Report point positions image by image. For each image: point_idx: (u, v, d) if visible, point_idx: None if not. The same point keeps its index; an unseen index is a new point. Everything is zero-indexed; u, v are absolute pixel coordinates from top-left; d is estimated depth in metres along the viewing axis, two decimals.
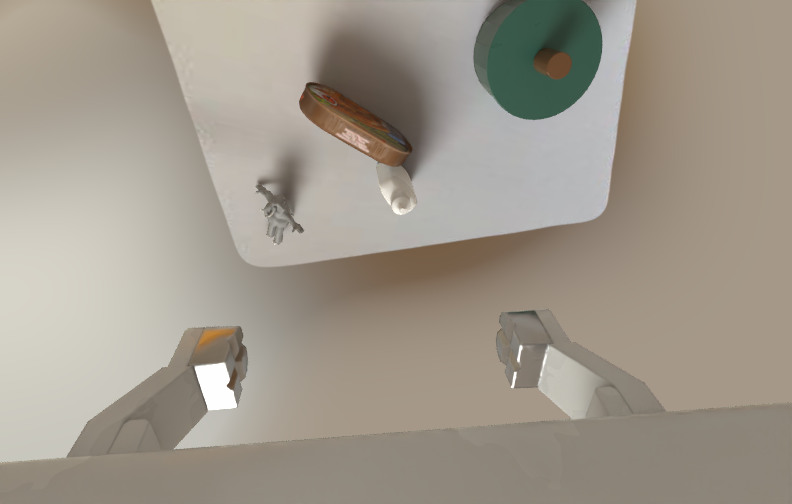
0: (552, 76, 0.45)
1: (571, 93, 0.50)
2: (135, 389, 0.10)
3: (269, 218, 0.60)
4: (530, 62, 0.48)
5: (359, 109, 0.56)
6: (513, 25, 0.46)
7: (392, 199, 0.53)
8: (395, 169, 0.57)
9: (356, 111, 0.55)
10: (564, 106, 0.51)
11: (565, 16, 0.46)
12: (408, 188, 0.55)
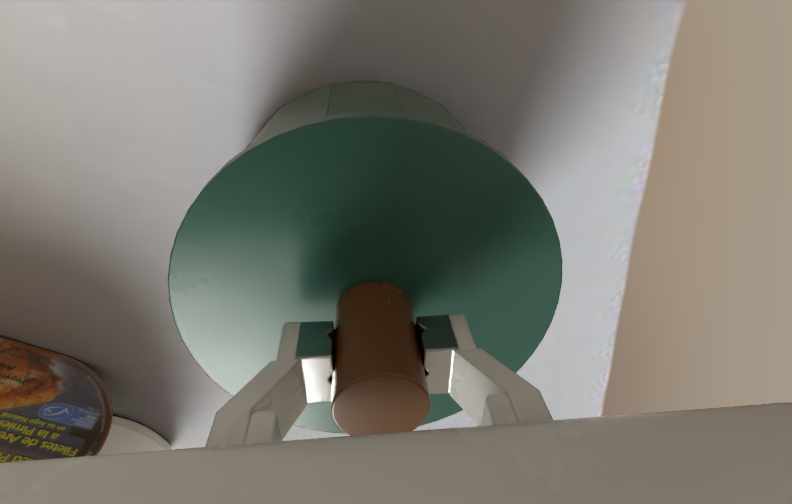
0: None
1: None
2: (252, 381, 0.11)
3: None
4: (326, 319, 0.15)
5: None
6: (231, 226, 0.12)
7: None
8: None
9: None
10: None
11: (421, 192, 0.12)
12: None
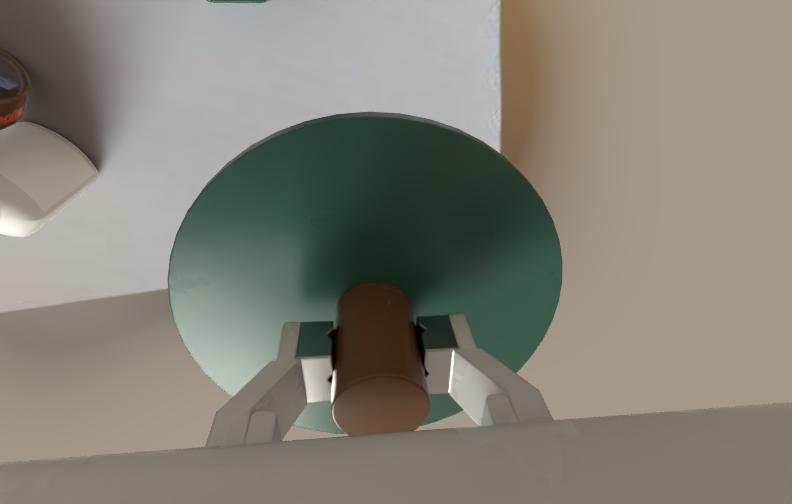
0: None
1: None
2: (252, 382, 0.11)
3: None
4: (326, 319, 0.14)
5: None
6: (231, 227, 0.12)
7: None
8: (1, 143, 0.26)
9: None
10: None
11: (421, 193, 0.12)
12: None
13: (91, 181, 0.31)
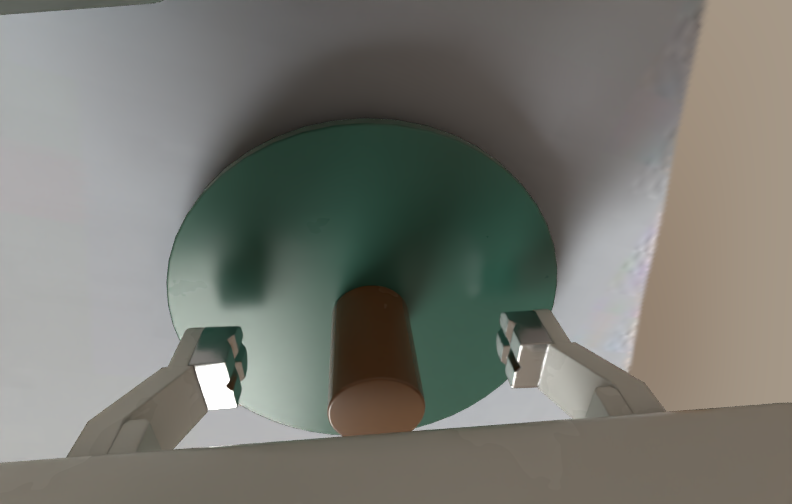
0: None
1: (471, 380, 0.17)
2: (135, 389, 0.10)
3: None
4: (323, 322, 0.15)
5: None
6: (229, 231, 0.13)
7: None
8: None
9: None
10: (455, 406, 0.18)
11: (417, 198, 0.13)
12: None
13: None
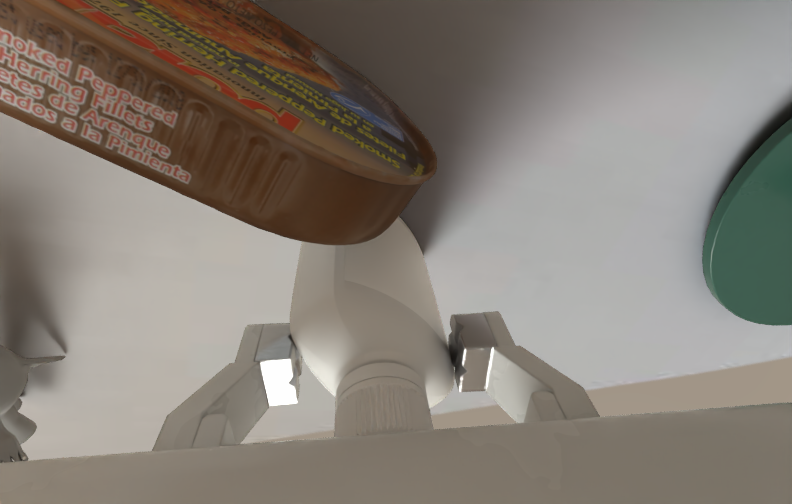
0: None
1: None
2: (207, 384, 0.11)
3: None
4: None
5: None
6: None
7: (339, 425, 0.10)
8: None
9: None
10: None
11: None
12: (421, 338, 0.12)
13: None
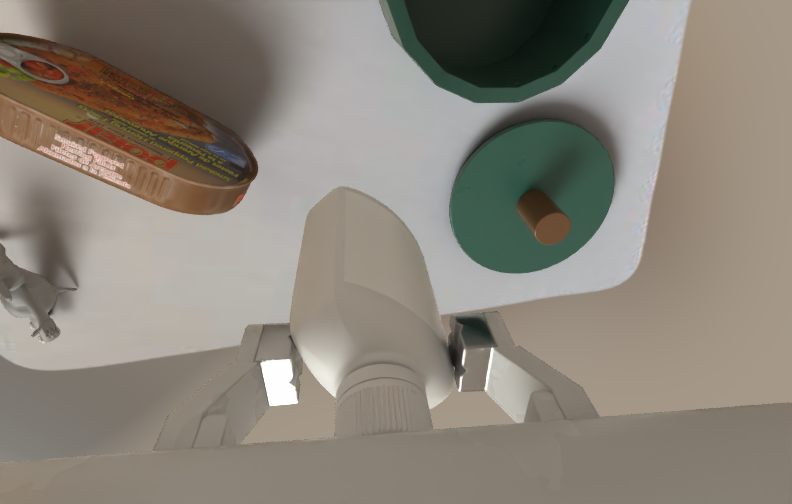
0: (542, 241, 0.31)
1: (570, 242, 0.36)
2: (207, 384, 0.11)
3: (3, 305, 0.31)
4: (512, 207, 0.34)
5: (151, 95, 0.28)
6: (487, 164, 0.32)
7: (339, 426, 0.10)
8: (366, 240, 0.14)
9: (137, 98, 0.27)
10: (560, 257, 0.37)
11: (561, 150, 0.32)
12: (421, 339, 0.12)
13: None
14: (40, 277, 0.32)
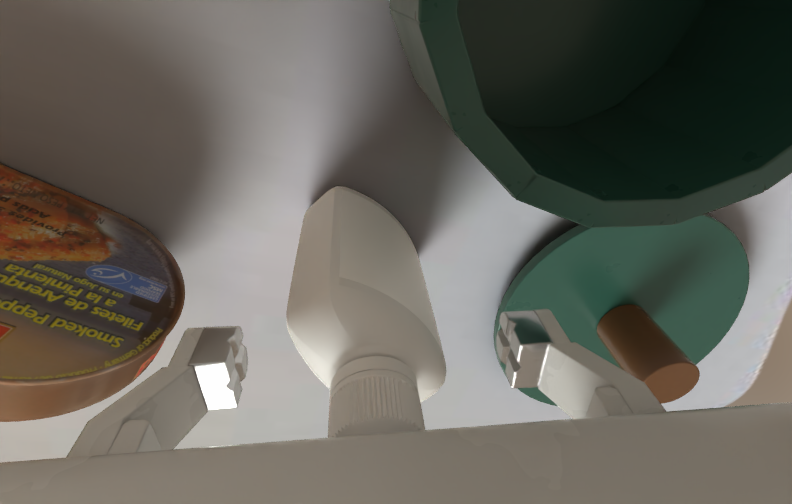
0: None
1: None
2: (135, 389, 0.10)
3: None
4: (590, 328, 0.22)
5: None
6: (559, 271, 0.20)
7: (333, 415, 0.11)
8: (361, 238, 0.15)
9: None
10: None
11: (676, 250, 0.20)
12: (412, 333, 0.12)
13: None
14: None
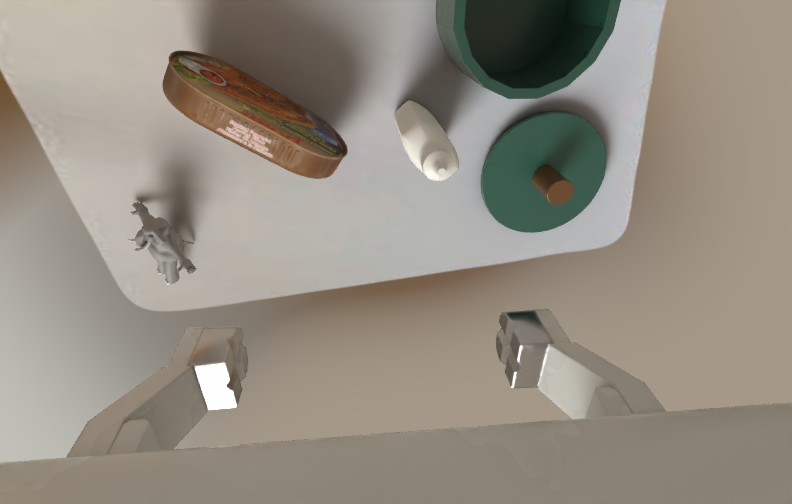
0: (552, 202, 0.41)
1: (573, 207, 0.47)
2: (135, 389, 0.10)
3: (149, 250, 0.42)
4: (529, 179, 0.44)
5: (270, 93, 0.38)
6: (511, 145, 0.42)
7: (423, 156, 0.33)
8: (425, 114, 0.37)
9: (263, 96, 0.37)
10: (565, 219, 0.47)
11: (566, 135, 0.42)
12: (447, 140, 0.35)
13: None
14: (175, 230, 0.42)
